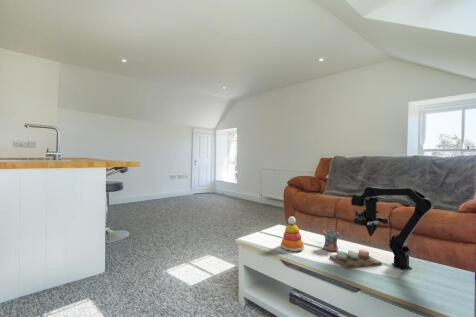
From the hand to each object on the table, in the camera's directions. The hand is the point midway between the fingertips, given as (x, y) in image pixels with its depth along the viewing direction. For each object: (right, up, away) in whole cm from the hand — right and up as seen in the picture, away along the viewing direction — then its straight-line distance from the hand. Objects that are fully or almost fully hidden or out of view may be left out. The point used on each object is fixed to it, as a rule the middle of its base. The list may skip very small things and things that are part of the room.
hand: (370, 235), depth 134 cm
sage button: (-20, -9, -7) cm, 23 cm away
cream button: (-13, -10, -6) cm, 17 cm away
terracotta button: (-6, -10, -4) cm, 12 cm away
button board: (-13, -12, -7) cm, 19 cm away
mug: (-18, -12, +11) cm, 24 cm away
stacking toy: (-43, -11, +10) cm, 45 cm away
